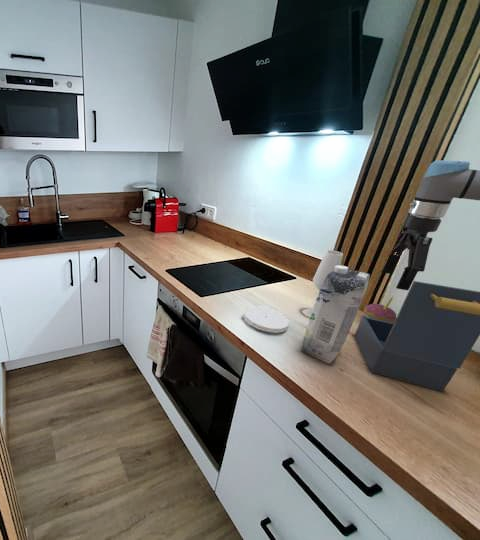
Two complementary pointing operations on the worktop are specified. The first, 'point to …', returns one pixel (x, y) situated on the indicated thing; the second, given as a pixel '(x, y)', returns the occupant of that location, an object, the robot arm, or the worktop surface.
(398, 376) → the chest
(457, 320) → the lid
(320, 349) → the juice carton
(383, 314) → the cupcake
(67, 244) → the worktop surface
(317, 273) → the champagne flute
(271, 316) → the plastic lid
